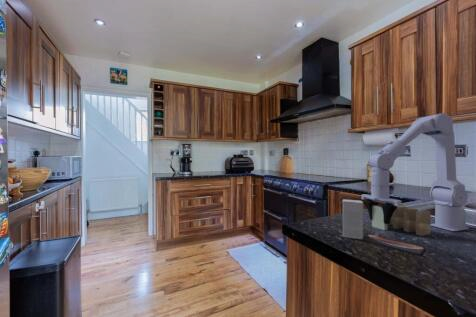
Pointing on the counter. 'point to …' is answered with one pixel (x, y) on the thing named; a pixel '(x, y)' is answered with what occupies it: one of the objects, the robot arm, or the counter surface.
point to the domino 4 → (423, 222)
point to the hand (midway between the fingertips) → (379, 221)
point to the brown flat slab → (394, 244)
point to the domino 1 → (378, 218)
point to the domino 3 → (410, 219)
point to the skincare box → (353, 219)
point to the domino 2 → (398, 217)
